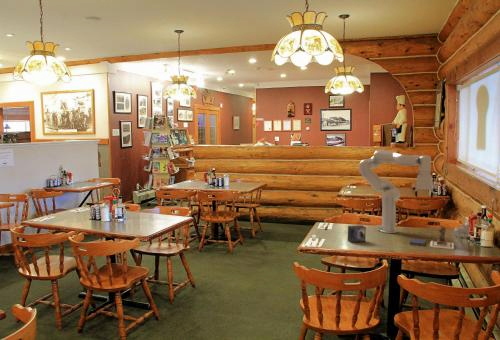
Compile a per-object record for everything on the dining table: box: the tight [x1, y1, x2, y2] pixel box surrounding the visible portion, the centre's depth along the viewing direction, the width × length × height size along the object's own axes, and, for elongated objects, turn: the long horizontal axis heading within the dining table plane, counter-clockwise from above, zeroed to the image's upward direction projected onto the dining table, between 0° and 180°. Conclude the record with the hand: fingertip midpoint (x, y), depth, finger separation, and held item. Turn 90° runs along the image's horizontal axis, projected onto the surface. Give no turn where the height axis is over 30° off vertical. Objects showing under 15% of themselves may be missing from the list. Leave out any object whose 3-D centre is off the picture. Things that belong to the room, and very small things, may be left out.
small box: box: [347, 224, 367, 244], centre depth 287 cm, size 11×6×10 cm, turn 101°
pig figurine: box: [454, 221, 470, 239], centre depth 299 cm, size 5×13×11 cm, turn 97°
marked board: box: [429, 240, 455, 250], centre depth 277 cm, size 14×14×1 cm
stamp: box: [436, 226, 448, 246], centre depth 276 cm, size 6×6×12 cm
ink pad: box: [409, 238, 426, 247], centre depth 283 cm, size 9×12×2 cm
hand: (423, 197), depth 298 cm, fingers open, 9 cm apart
